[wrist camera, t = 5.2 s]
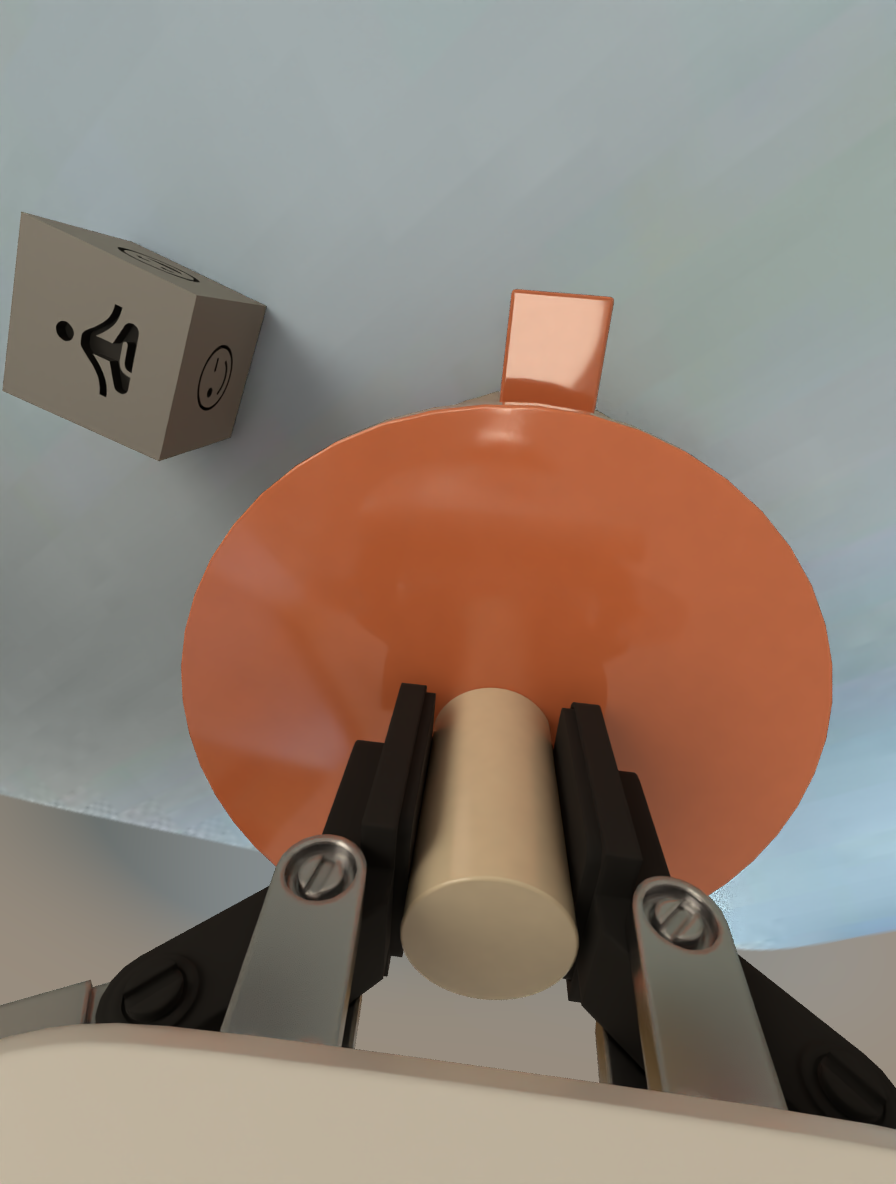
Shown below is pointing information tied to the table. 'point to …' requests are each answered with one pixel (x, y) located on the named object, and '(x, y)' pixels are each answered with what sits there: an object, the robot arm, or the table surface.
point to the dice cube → (126, 340)
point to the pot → (554, 350)
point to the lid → (508, 661)
